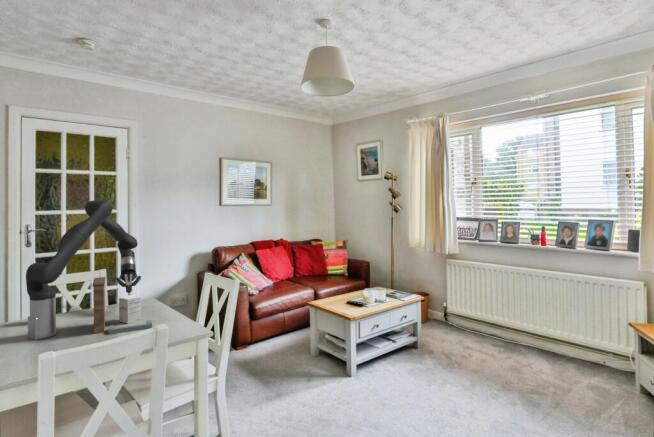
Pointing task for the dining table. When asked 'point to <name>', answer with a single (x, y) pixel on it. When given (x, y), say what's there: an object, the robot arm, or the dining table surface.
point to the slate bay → (130, 328)
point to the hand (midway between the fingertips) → (129, 292)
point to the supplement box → (129, 309)
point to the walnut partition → (99, 304)
